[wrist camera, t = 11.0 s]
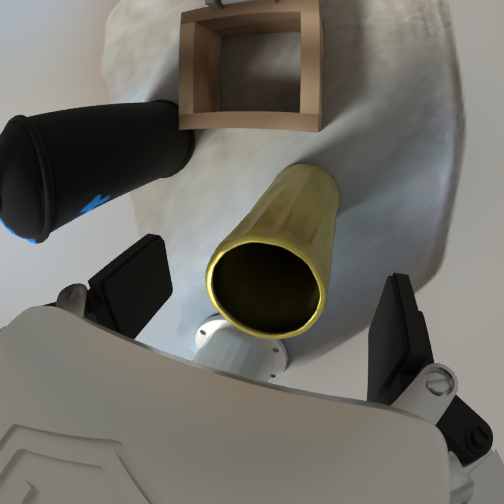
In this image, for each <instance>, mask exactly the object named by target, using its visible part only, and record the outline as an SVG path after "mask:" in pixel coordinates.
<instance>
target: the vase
mask: <svg viewBox="0 0 504 504" xmlns="http://www.w3.org/2000/svg"><path fill="white" fill-rule="evenodd" d="M339 205H340V193H339V189H338V186H337V184H336V182H335V181H334V179H333V178H332V176H331V175H330V174H329V173H327V172H326V171H324V170H323V169H321V168H319V167H318V166H315V165H312V164H301V163H300V164H295V165H292V166H289V167H287V168H285V169H284V170H282V171H281V172H280V173H279V174H278V175H277V177H276V178H275V180H274V181H273V183H272V184H271V185H270V186H269V188H268V189H267V190H266V192H265V193H264V194H263V195H262V196H261V198H260V199H259V200H258V202H257V203H256V204H255V206H254V207H253V208H252V210H251V212H250V213H249V214H248V215H247V216H246V217H245V218H244V219H243V220H242V221H241V222H240V223H239V225H238V226H237V227H236V228H235V229H234V230H233V231H232V232H231V233H230V234H229V235H228V236H227V237H226V238H225V239H224V240H223V241H222V242H221V243H220V244H219V245H218V247H217V248H216V250H215V252H214V253H213V255H212V257H211V259H210V261H209V263H208V266H207V269H206V276H205V279H206V288H207V292H208V295H209V298H210V300H211V302H212V304H213V306H214V307H215V308H216V310H217V311H218V312H219V313H220V314H221V315H222V316H223V317H224V318H225V319H226V320H227V321H228V322H229V323H231V324H232V325H233V326H235V327H237V328H238V329H240V330H242V331H244V332H246V333H248V334H250V335H252V336H256V337H259V338H264V339H284V338H290V337H294V336H298V335H300V334H302V333H304V332H305V331H307V330H308V329H310V328H311V327H312V326H313V325H314V323H315V322H316V321H317V320H318V318H319V317H320V316H321V314H322V313H323V310H324V308H325V304H326V297H327V292H328V287H329V281H330V271H331V260H332V248H333V241H334V234H335V225H336V215H337V211H338V208H339Z"/></svg>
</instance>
